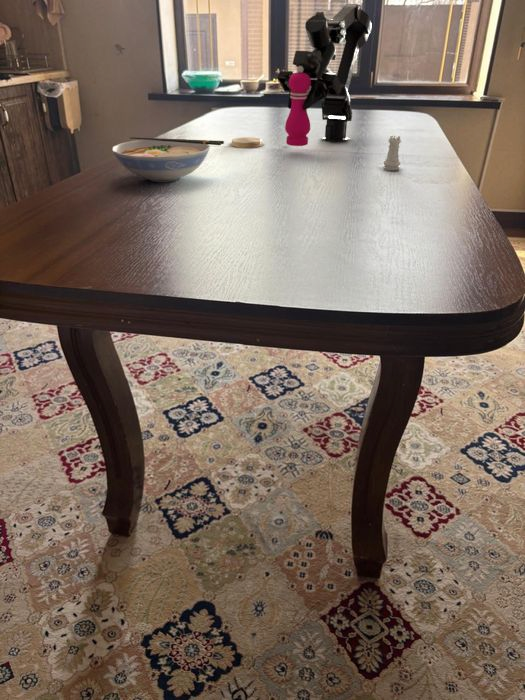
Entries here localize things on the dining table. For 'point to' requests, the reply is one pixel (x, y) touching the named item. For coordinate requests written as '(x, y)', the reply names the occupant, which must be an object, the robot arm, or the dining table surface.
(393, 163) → the rook chess piece
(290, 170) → the dining table surface
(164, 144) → the ramen bowl
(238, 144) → the beige flat disc
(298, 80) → the pepper mill
